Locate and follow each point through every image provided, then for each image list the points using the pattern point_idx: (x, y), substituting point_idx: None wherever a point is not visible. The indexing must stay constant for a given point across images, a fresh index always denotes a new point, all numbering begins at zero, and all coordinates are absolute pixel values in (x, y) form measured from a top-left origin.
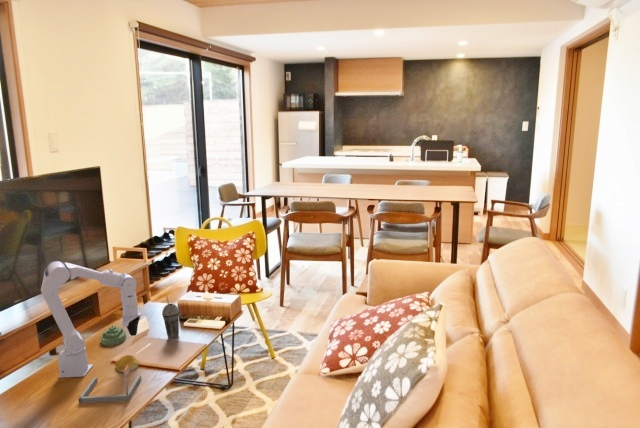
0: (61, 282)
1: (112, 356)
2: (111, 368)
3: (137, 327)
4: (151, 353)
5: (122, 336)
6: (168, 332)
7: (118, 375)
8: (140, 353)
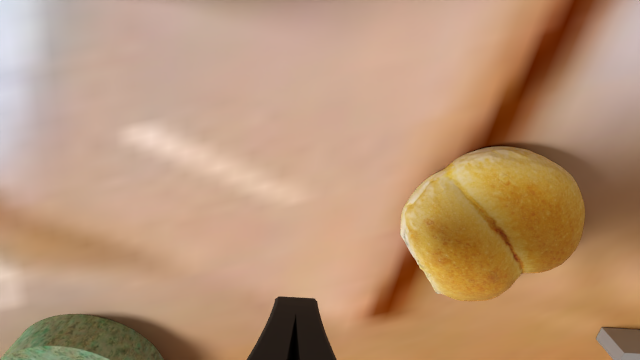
0: None
1: None
2: None
3: (254, 351)
4: (319, 85)
5: (92, 351)
6: None
7: None
8: (303, 173)
